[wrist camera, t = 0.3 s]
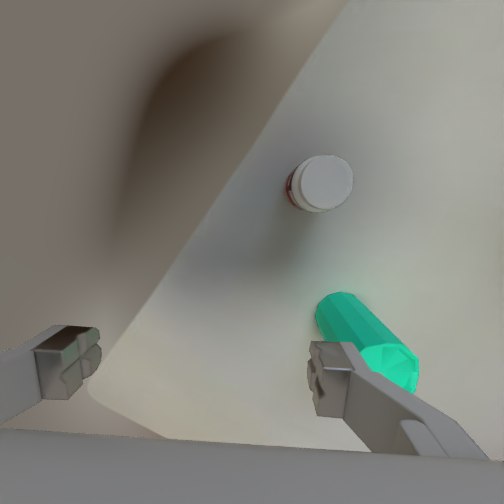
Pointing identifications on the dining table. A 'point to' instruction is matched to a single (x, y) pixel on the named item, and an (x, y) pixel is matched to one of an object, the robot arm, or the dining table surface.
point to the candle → (367, 338)
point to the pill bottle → (319, 184)
